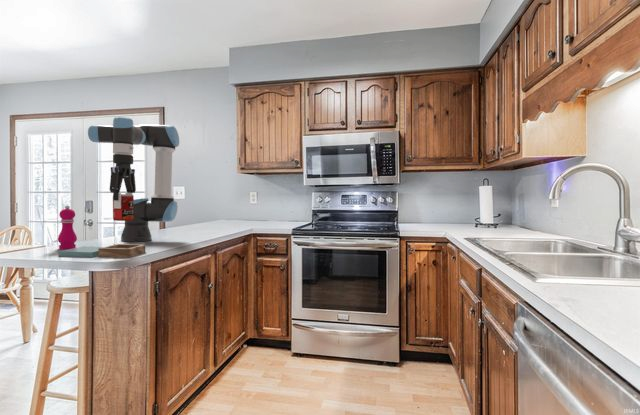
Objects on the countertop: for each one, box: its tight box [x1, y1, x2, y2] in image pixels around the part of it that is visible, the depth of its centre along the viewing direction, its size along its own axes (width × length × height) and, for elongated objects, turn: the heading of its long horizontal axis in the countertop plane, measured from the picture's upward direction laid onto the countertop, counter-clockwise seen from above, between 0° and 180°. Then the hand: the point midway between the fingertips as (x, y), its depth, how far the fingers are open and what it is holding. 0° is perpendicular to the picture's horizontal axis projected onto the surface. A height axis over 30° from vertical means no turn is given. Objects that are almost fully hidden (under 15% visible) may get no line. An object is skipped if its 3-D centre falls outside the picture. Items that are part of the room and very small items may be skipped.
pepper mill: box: [57, 205, 78, 250], centre depth 163 cm, size 7×7×20 cm
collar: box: [98, 243, 146, 258], centre depth 151 cm, size 13×13×4 cm
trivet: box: [58, 245, 103, 258], centre depth 151 cm, size 14×14×2 cm
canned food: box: [112, 193, 135, 222], centre depth 151 cm, size 8×8×11 cm
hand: (123, 207), depth 151 cm, fingers closed on canned food, 8 cm apart
